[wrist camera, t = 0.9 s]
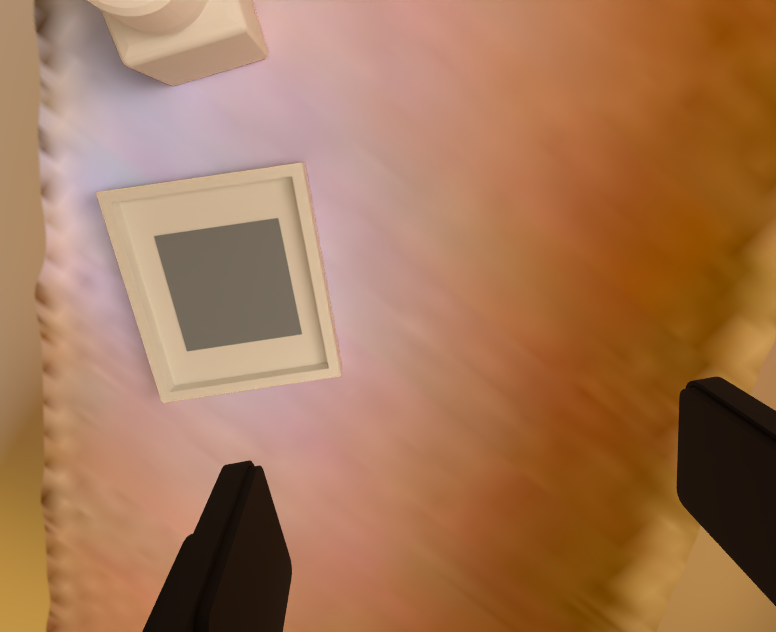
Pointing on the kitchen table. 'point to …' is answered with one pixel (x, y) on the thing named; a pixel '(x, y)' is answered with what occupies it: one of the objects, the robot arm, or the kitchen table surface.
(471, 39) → the kitchen table surface
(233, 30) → the medicine bottle
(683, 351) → the kitchen table surface
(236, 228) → the tray
